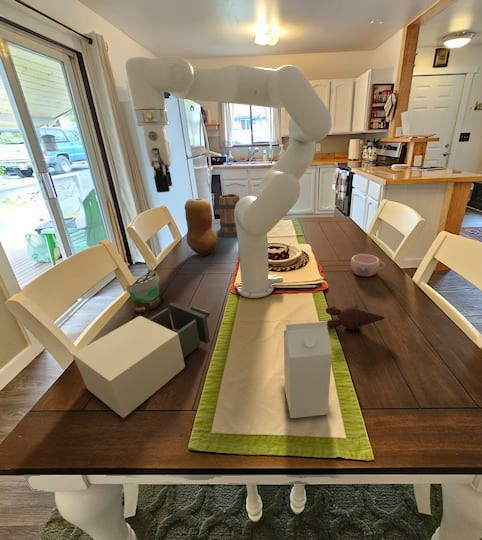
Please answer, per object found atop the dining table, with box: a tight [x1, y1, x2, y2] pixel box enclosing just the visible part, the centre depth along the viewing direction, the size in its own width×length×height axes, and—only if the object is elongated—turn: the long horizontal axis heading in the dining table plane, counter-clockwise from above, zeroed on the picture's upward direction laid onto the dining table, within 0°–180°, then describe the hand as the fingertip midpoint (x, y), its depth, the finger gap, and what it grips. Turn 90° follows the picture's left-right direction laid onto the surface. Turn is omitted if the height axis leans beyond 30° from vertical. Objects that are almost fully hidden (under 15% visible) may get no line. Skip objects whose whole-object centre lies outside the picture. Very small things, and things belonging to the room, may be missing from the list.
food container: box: [126, 268, 161, 313], centre depth 91 cm, size 12×6×10 cm, turn 168°
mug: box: [350, 253, 386, 277], centre depth 106 cm, size 12×10×6 cm
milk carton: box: [283, 320, 333, 419], centre depth 53 cm, size 7×7×19 cm
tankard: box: [216, 193, 241, 238], centre depth 154 cm, size 24×17×20 cm
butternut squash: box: [184, 197, 219, 257], centre depth 127 cm, size 14×13×25 cm
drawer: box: [147, 301, 211, 359], centre depth 72 cm, size 19×13×8 cm
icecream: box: [325, 304, 386, 331], centre depth 77 cm, size 7×7×15 cm
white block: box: [72, 315, 186, 419], centre depth 63 cm, size 16×14×10 cm
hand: (165, 188), depth 79 cm, fingers open, 9 cm apart
